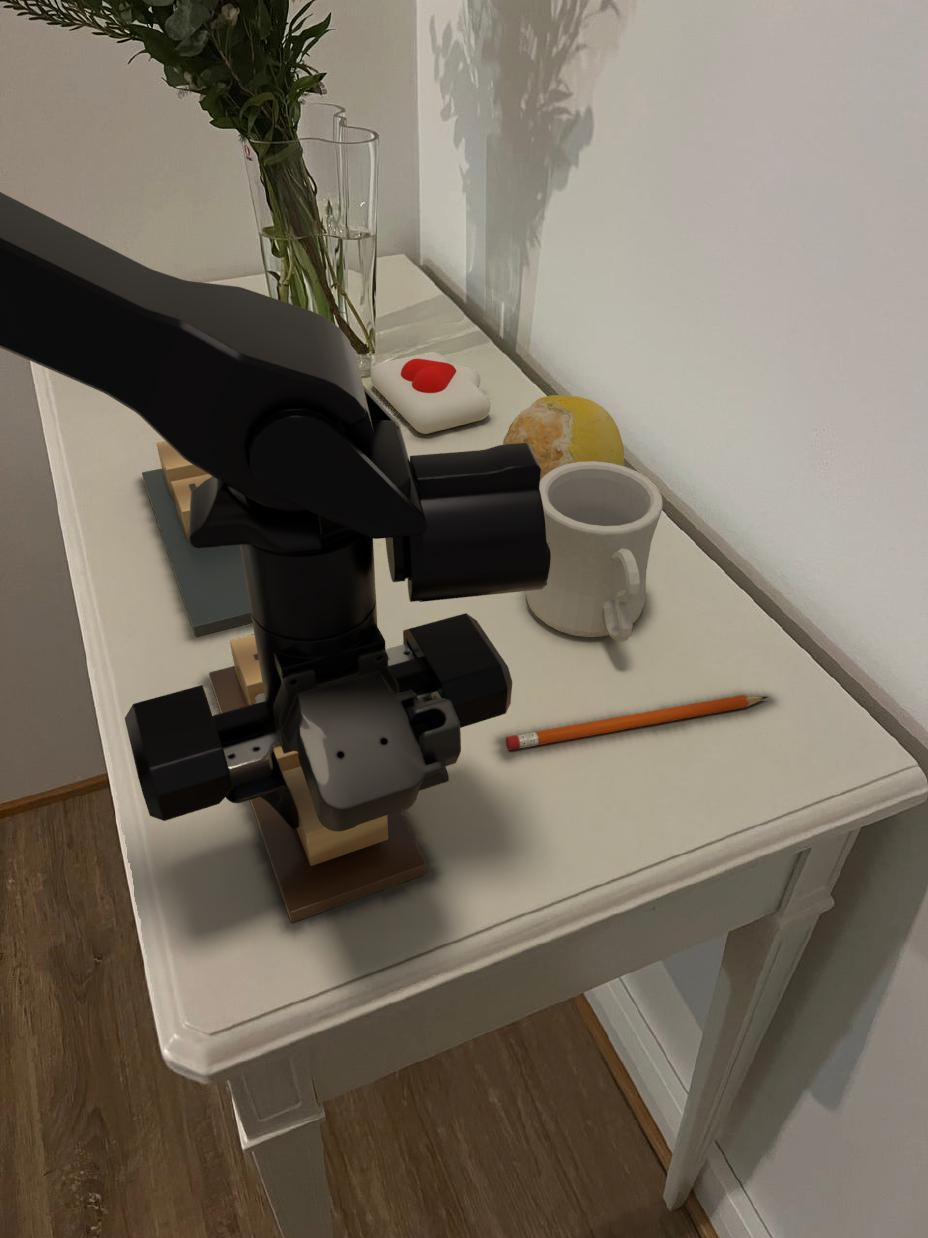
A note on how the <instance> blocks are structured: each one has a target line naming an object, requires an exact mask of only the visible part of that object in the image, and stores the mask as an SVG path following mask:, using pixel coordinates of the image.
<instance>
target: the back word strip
mask: <svg viewBox="0 0 928 1238" xmlns="http://www.w3.org/2000/svg"><path fill="white" fill-rule="evenodd" d="M155 444H156V449H157V453H158V458H159V462H160V467H161V468H157V469H152V470H147V471H142V472H141V476H142V480H143V484H144V486H145V490H146V492H147V495H148V498H149V501H150V504H151V507H152V511H153V514H154V516H155V519H156V523H157V525H158V528H159V532H160V534H161V538H162V541H163V543H164V547H165V550H166V552H167V555H168V558H169V561H170V564H171V567H172V571H173V573H174V577H175V579H176V582H177V585H178V588H179V591H180V594H181V598H182V599H183V600H182V601H183V604H184V607H185V609H186V612H187V615H188V618H189V622H190V624H191V627H192V631H193V633H194V636H195V637H200V636H204V635H209V634H212V633H216V632H220V631H224V630H227V629H231V628H232V629H233V628H236V627H240V626H243V625H247V624H253V623H252V617H251V611H250V604H249V598H248V592H247V586H246V580H245V573H244V567H243V561H242V555H241V549H240V545H232V546H221V547H210V548H195V547H193V546H192V545H191V544H190V543H189V520H190V498H191V492H192V491H193V490H194V489H195V488H197V487H198V486H199V485H200V484H202V483H203V482H204V481H205V480H207V479H209V478H211V477H212V476H211V475H210V474H208V473H206V472H205V471H203V470H201V469H200V468H198V467H196V466H195V465H193V464H191V463H190V462H188V461H187V460H185V459H184V458H183V457H182V456H181V455H180V454H179V453H178V452H177V451H176V450H175V449H174V448H173V447H172V446H170V445H169V444H168V443H167V442H166V441H165V440H164V441H158V442H156V443H155Z"/></svg>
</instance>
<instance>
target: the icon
mask: <svg viewBox="0 0 928 1238" xmlns="http://www.w3.org/2000/svg"><path fill="white" fill-rule="evenodd" d="M370 381H371V384H372V386H373V387H374V388H375V390H377V391H378V392H379V393H380V394H381V395H382V396H383V398H385V400H386V401H387V402H388V403H389V404H390V405H391V406H392V407H393V408H394V409H395V410H396V411H397V413H399V414H400V415H401V416H402V417H403V419H404V420H406V422H407V423H408V424H409V425H410V426H411V427H412V428H413V429H414V430H415V431H416V432H418V433H420V434H423V435H427V434H428V435H429V434H433V433H436V432H440V431H444V430H448V429H452V428H455V427H460V426H465V425H468V424H471V423H477V422H480V421H483V420H484V419H485V418H487V416H489V413H490V412H491V401H490V398H489V396H488V395H487V394H486V393H485V392H483V391H482V390H481V389H480V386H481V385H480V384H481V374H480V373H479V371H478V370H476V369H474V368H471V367H468V366H463V365H459V364H455V363H451V362H450V361H449V360H448V359H446V358H445V357H444V356H443V355H442V354H441V353H439V352H436V351H429V352H425V353H424V352H423V353H420V354H416V355H411V356H406V357H401V358H397V359H392V360H387V361H381V362H378V363H377V364H375V365H374V366H373V368H372V369H371V372H370Z"/></svg>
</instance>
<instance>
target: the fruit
mask: <svg viewBox="0 0 928 1238" xmlns="http://www.w3.org/2000/svg"><path fill="white" fill-rule="evenodd" d="M515 443H528V444H529V445H530V446H531V448H532V450H533V452H534V455H535V457H536V459H537V461H538V463H539V465H540V468H541V476H540V481H541V479H542V478H543V477H544V476H545V475H546V474H548V473H549V472H550V471H552V470H553V469H555V468H558V467H560V466H563V465H566V464H571V463H576V462H589V461H596V462H606V463H612V464H616V465H620V466H624V467H625V449H624V444H623V440H622V436H621V433H620V430H619V427H618V425H617V423H616V422H615V420H614V418H613V416H611V414H610V413H609V412H608V410H606V409H605V408H604V407H603V406H602V405H600V404H599V403H597V402H595V401H594V400H591V399H588V398H585V397H581V396H576V395H575V396H574V395H564V394H554V395H552V394H551V395H547V396H543V397H540V398H537V399H536V400H535V401H534V402H532V403H531V405H530V406H529V407H527V408H525V409H523V410H521V411H520V412H519V413H518V415H517V416H516V417H515V418H514V419H513V421H512V422H511V423H510V424H509V427H508V430H507V432H506V434H505V436H504V437H503V441H502V445H504V444H515Z"/></svg>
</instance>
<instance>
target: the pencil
mask: <svg viewBox="0 0 928 1238" xmlns="http://www.w3.org/2000/svg"><path fill="white" fill-rule="evenodd" d="M767 698H769V696H762V695H747V694H741V695H735V696H730V697H729V696H728V697H723V698H718V699H712V700H705V701H701V702H695V703H690V704H685V705H679V706H673V707H668V708H661V709H657V710H650V711H645V712H639V713H633V714H628V715H622V716H617V717H612V718H606V719H599V720H594V721H588V722H582V723H578V724H572V725H565V726H560V727H554V728H549V729H544V730H543V729H542V730H537V731H532V732H526V733H520V734H516V735H509V736H506V737H505V744H506V748H507V749H508V750H509V751H512V750H518V749H523V748H528V747H534V746H540V745H545V744H551V743H557V742H561V741H569V740H572V739H579V738H584V737H590V736H595V735H601V734H606V733H611V732H617V731H623V730H628V729H635V728H640V727H645V726H651V725H657V724H662V723H667V722H673V721H678V720H685V719H689V718H696V717H700V716H707V715H711V714H716V713H722V712H729V711H734V710H740V709H745V708H748V707H750V706H752V705H754V704H757V703H759V702H761V701H763V700H765V699H767Z"/></svg>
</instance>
